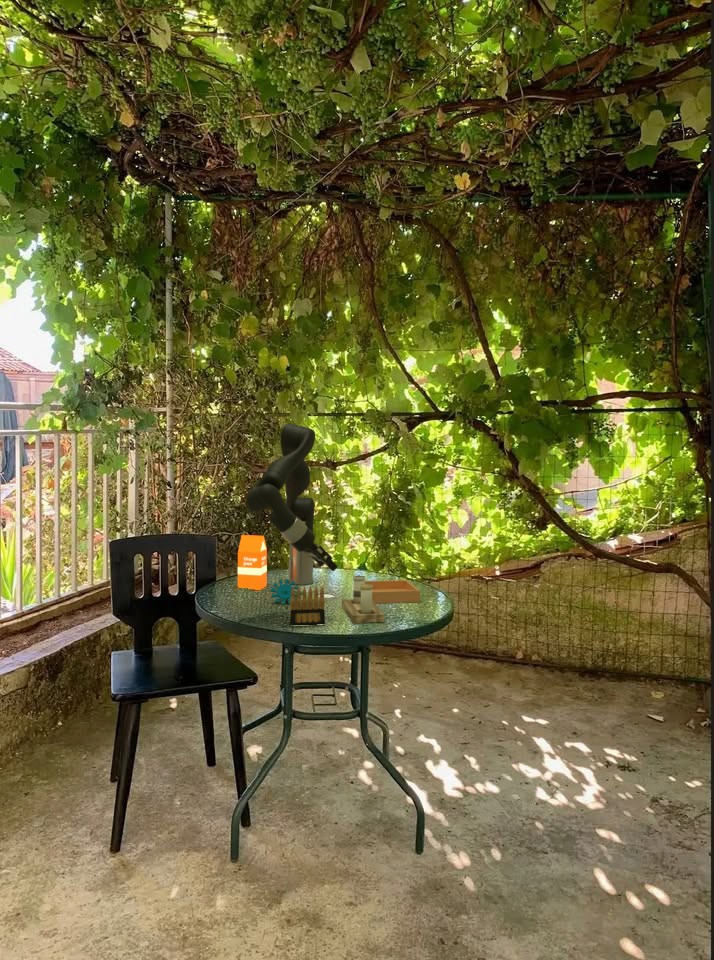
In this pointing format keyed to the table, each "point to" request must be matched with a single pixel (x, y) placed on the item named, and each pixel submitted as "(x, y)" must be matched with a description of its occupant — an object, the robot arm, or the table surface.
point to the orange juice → (252, 562)
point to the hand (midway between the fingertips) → (329, 566)
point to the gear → (284, 591)
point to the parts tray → (394, 591)
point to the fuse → (366, 598)
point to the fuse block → (356, 617)
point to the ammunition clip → (307, 607)
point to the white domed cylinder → (357, 588)
